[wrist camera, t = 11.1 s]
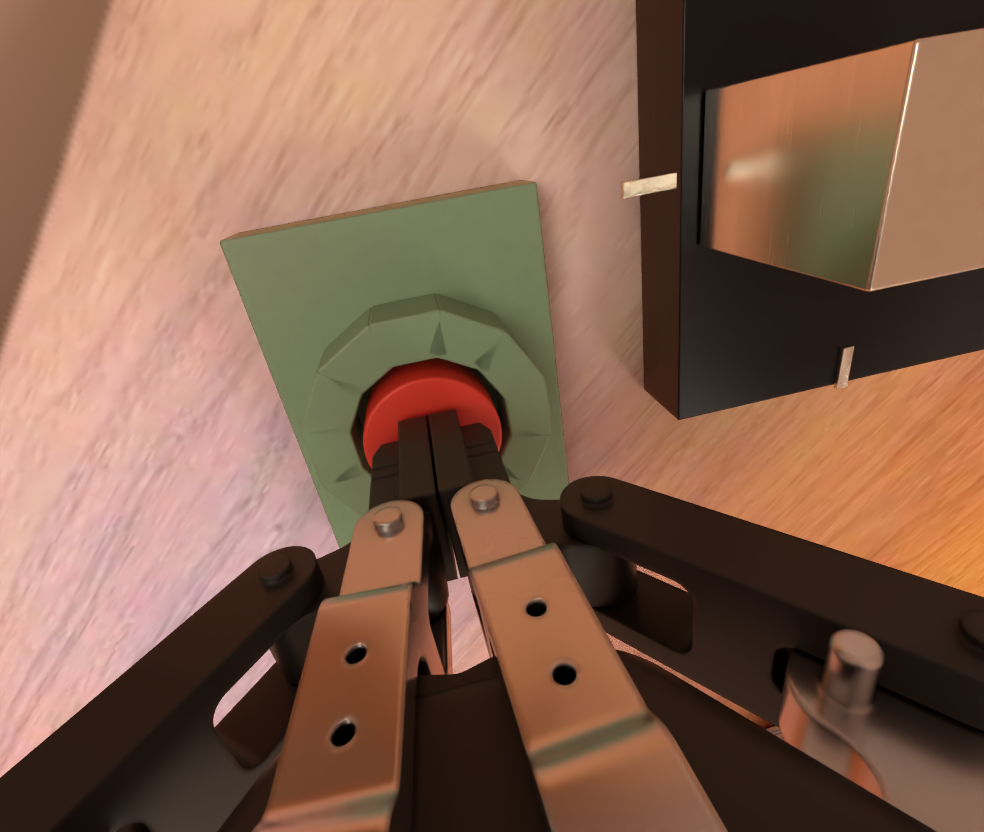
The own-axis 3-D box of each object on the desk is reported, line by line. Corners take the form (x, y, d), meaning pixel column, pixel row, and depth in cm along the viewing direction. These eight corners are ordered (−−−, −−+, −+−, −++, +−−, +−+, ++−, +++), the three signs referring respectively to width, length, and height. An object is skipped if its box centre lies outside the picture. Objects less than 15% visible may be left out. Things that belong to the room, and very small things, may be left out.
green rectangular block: (237, 232, 14) (192, 252, 11) (521, 179, 14) (556, 183, 11) (352, 540, 19) (344, 613, 16) (559, 490, 20) (590, 552, 16)
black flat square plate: (564, -151, 12) (608, -231, 9) (1111, -225, 13) (1273, -312, 10) (601, 401, 18) (632, 437, 16) (959, 320, 19) (1038, 342, 17)
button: (350, 369, 14) (344, 395, 12) (480, 342, 14) (490, 364, 12) (384, 478, 15) (383, 513, 14) (500, 451, 16) (511, 483, 14)
